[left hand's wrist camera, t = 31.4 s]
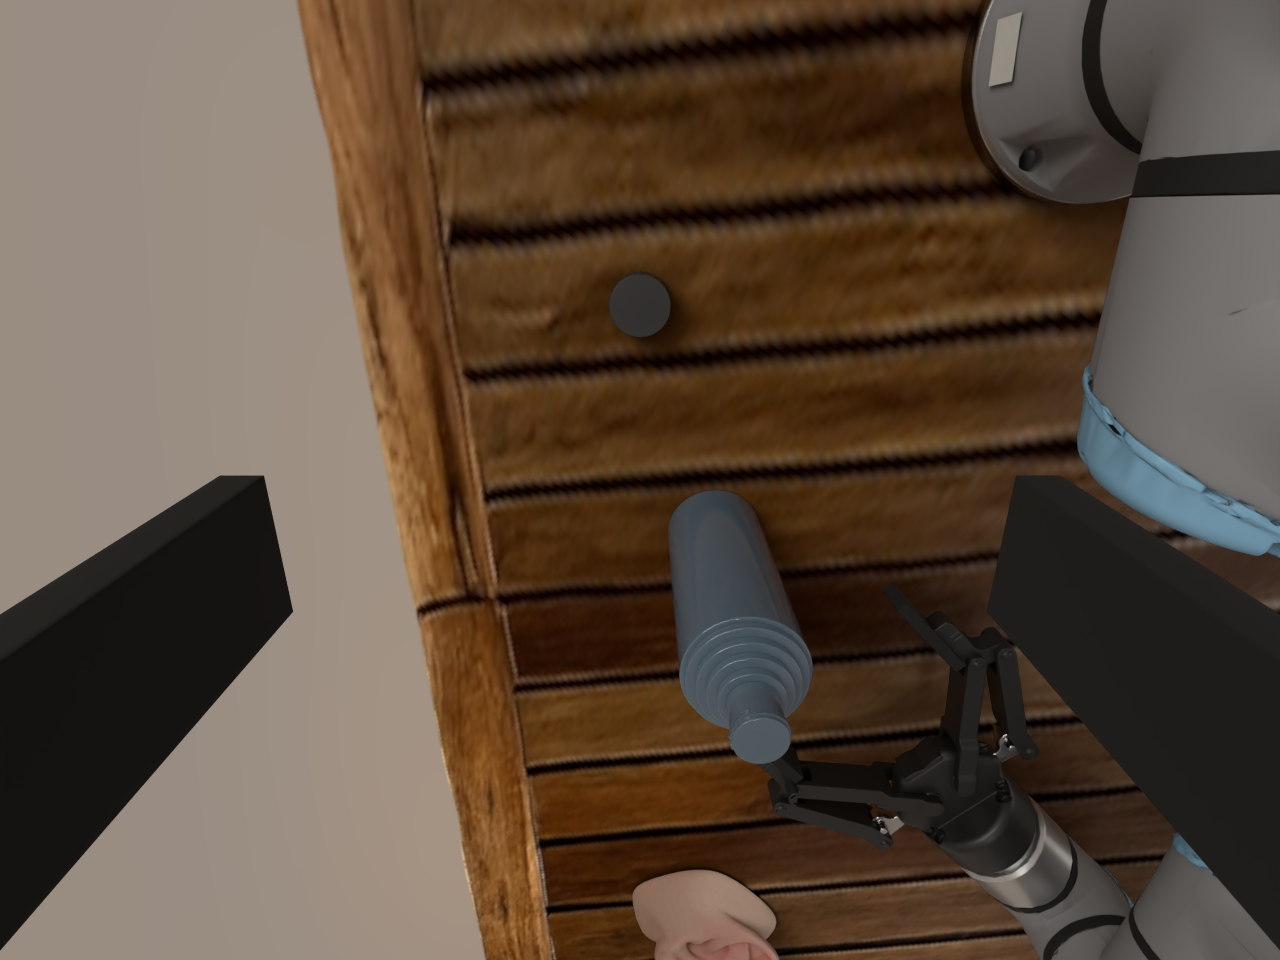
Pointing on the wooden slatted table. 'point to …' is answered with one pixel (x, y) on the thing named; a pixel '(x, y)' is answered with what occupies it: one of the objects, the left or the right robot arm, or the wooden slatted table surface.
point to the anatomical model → (703, 918)
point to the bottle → (735, 625)
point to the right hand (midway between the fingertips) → (812, 657)
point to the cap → (640, 304)
